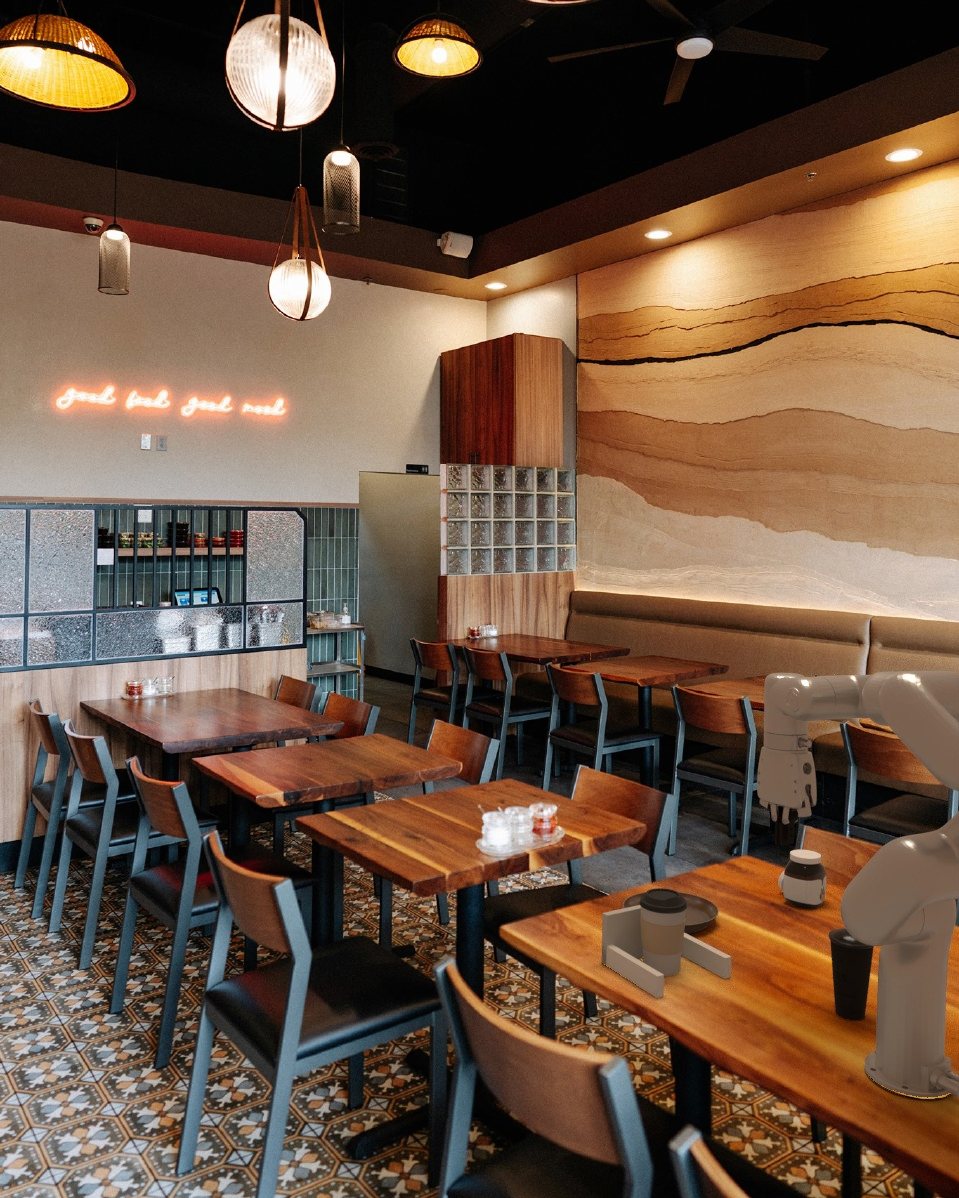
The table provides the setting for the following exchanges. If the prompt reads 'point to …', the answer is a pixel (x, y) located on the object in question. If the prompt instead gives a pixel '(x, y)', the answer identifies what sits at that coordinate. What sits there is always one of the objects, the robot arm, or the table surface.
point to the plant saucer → (688, 911)
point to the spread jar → (804, 880)
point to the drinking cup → (850, 974)
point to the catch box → (627, 946)
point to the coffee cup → (662, 929)
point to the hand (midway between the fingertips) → (784, 843)
